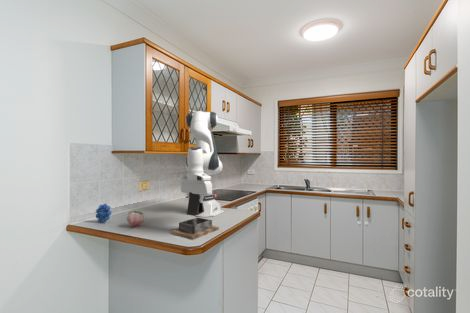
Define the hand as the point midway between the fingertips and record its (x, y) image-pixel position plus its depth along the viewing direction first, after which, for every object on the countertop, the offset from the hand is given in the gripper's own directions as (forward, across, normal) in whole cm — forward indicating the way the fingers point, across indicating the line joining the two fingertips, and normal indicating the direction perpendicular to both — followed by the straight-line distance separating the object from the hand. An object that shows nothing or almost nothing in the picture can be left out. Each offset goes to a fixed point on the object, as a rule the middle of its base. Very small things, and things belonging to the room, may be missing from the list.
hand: (195, 201), depth 133 cm
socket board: (+16, 0, 0) cm, 16 cm away
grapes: (+16, -60, -19) cm, 65 cm away
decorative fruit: (+16, -36, -13) cm, 42 cm away
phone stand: (+6, 0, 0) cm, 6 cm away
